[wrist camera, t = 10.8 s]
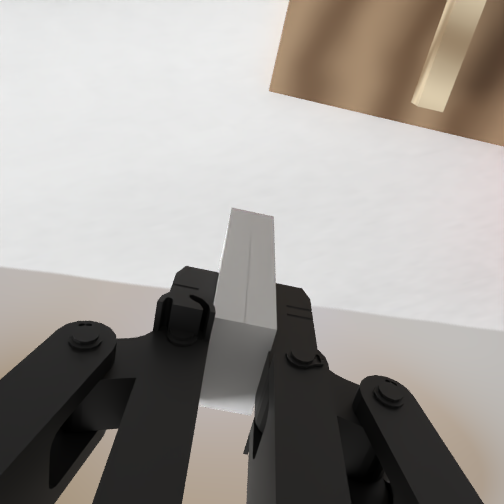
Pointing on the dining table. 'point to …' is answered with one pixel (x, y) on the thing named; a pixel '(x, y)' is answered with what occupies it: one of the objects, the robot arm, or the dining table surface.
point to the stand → (391, 62)
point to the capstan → (447, 53)
